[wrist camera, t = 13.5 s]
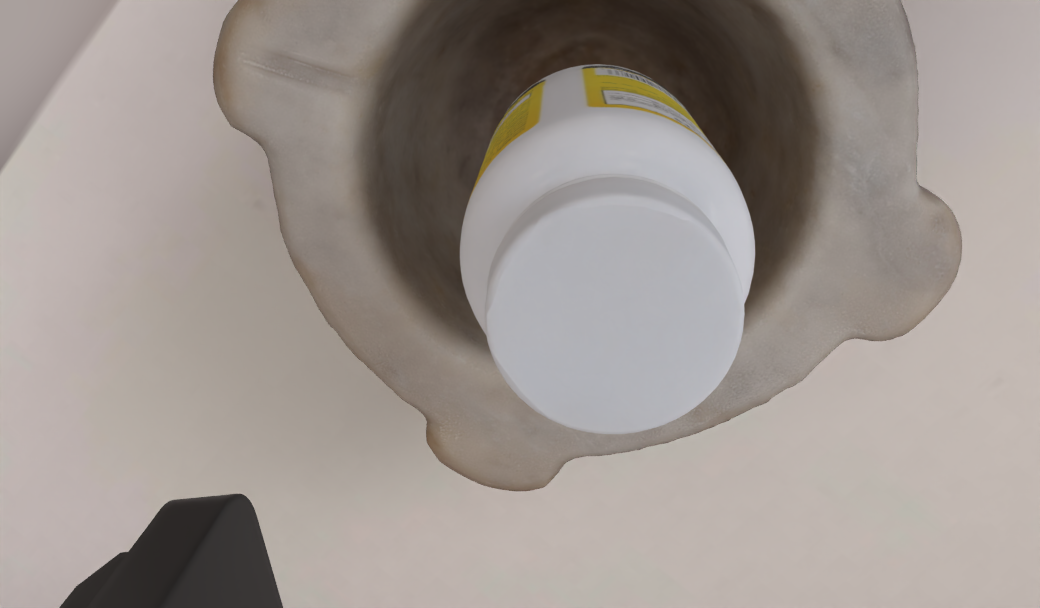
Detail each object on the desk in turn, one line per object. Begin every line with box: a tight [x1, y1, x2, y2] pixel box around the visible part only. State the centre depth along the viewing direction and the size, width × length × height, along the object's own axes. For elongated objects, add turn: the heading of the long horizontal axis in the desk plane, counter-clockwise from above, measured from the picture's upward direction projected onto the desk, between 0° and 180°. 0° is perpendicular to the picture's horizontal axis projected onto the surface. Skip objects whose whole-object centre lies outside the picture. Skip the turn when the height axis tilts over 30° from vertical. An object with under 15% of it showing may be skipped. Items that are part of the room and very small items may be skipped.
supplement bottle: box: [460, 64, 755, 434], centre depth 18 cm, size 5×5×10 cm
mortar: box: [213, 0, 962, 491], centre depth 27 cm, size 17×17×9 cm
